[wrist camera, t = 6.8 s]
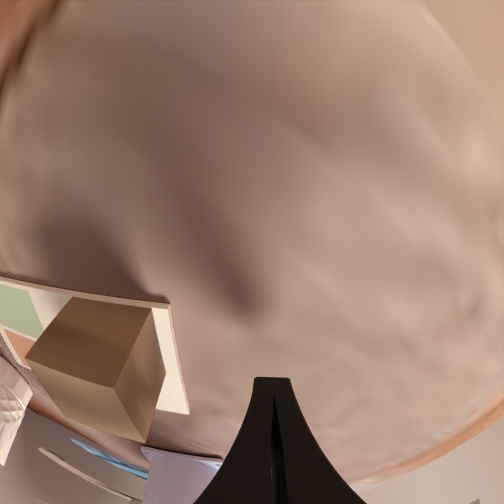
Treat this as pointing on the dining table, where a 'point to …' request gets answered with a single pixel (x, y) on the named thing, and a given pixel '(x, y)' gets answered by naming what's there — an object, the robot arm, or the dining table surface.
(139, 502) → the energy drink can
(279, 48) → the dining table surface
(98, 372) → the block
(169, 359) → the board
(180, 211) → the dining table surface
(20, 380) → the white cup
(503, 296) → the dining table surface
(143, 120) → the dining table surface
